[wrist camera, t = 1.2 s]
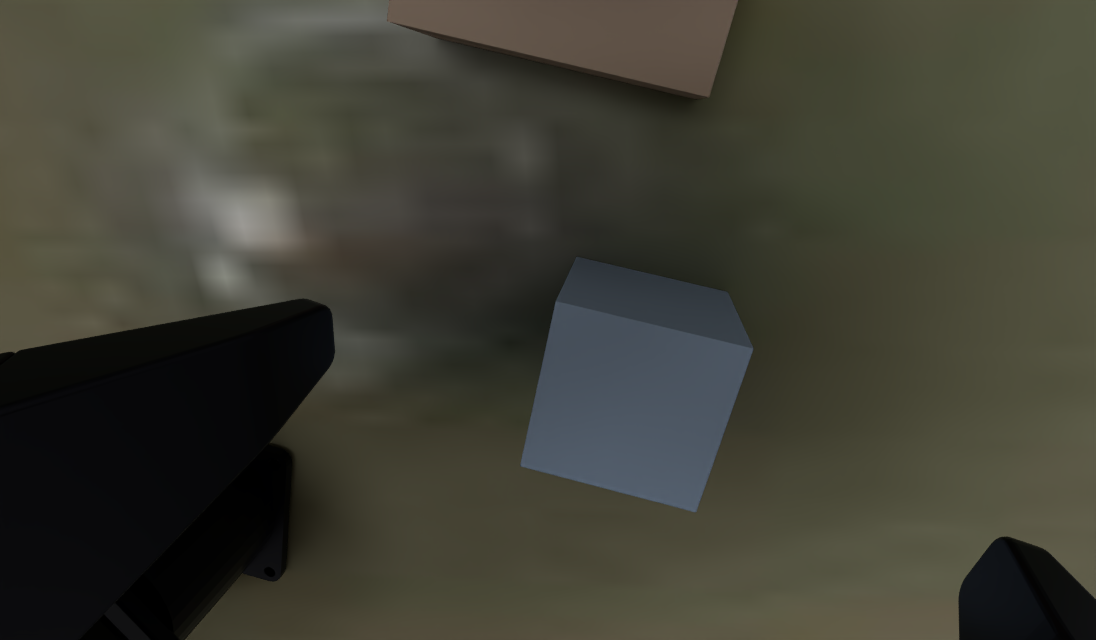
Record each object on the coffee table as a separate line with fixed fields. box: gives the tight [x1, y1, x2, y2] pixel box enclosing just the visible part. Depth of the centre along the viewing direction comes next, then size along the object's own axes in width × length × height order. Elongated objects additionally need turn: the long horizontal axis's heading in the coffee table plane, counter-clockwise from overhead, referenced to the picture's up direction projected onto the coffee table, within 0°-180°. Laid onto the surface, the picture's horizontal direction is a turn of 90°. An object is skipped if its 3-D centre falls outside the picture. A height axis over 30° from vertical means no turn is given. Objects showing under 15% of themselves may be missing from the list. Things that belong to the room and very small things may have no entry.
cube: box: [520, 257, 754, 512], centre depth 18 cm, size 5×5×5 cm
